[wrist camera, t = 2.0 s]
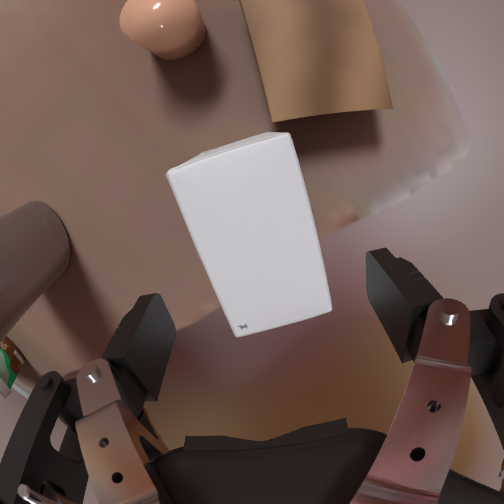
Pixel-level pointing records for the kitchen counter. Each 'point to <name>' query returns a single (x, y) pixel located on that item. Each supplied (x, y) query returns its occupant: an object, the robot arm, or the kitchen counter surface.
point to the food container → (9, 365)
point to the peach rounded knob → (164, 26)
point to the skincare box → (254, 231)
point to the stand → (316, 57)
